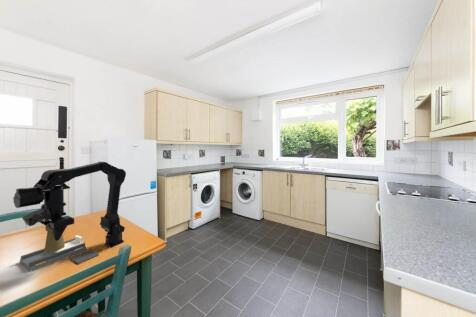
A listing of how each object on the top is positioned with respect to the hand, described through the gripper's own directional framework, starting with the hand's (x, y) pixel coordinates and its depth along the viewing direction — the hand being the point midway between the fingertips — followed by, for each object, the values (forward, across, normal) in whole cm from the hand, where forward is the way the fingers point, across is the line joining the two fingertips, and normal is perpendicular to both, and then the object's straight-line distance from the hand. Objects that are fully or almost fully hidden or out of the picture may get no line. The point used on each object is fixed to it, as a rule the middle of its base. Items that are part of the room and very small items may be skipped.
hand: (54, 238), depth 77 cm
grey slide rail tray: (+13, -12, +4) cm, 18 cm away
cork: (+4, 0, 0) cm, 4 cm away
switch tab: (+11, -12, +9) cm, 18 cm away
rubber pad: (+13, 0, +10) cm, 16 cm away
